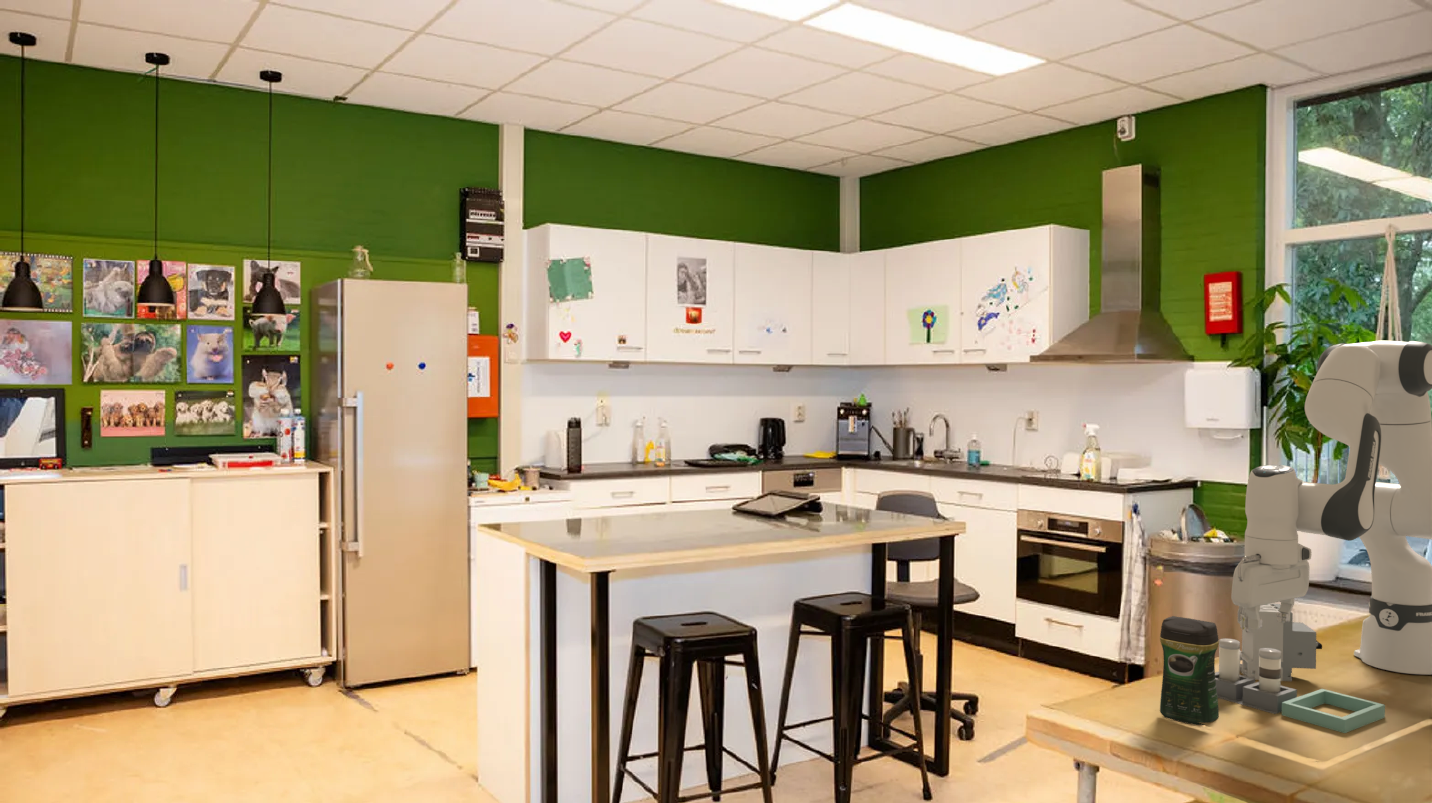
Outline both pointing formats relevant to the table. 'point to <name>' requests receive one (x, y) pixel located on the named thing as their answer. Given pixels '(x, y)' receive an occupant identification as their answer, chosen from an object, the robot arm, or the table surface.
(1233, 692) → the block
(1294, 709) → the parts tray
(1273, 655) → the cylinder
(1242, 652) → the circuit breaker
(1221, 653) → the cylinder
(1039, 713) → the table surface
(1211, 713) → the coffee jar
